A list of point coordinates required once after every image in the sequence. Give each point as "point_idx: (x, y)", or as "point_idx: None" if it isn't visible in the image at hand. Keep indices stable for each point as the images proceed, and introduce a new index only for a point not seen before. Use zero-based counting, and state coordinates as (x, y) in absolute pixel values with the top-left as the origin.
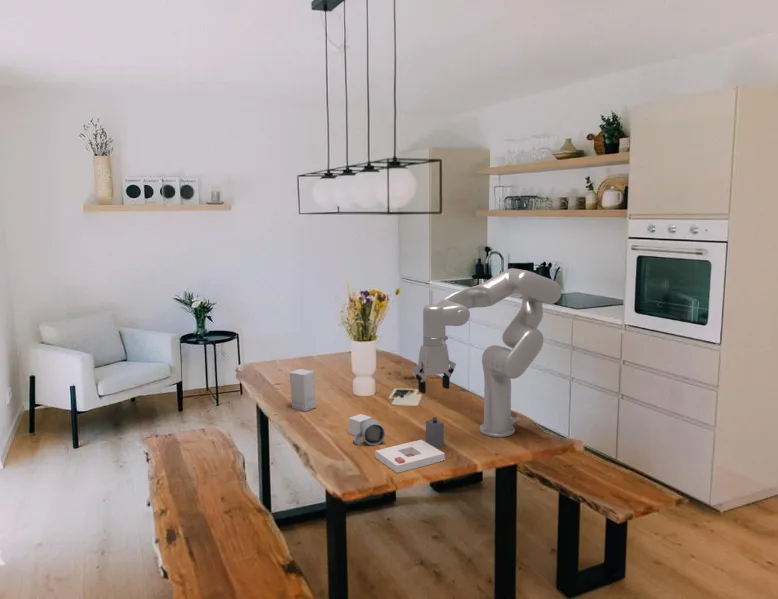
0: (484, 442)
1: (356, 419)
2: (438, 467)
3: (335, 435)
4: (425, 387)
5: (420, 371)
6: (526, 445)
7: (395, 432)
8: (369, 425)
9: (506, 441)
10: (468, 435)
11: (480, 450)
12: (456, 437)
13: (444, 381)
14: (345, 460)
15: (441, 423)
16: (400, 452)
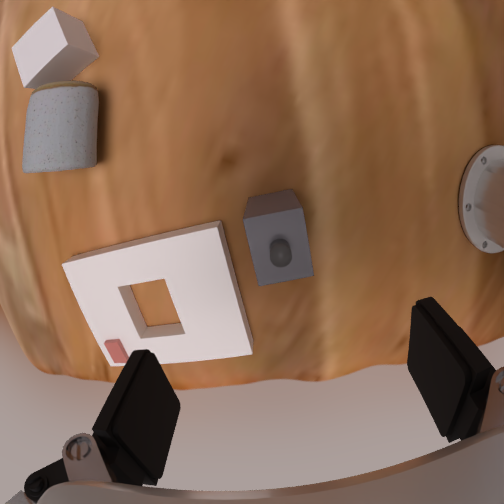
0: (426, 264)
1: (22, 63)
2: (220, 367)
3: (15, 70)
4: (170, 440)
5: (72, 501)
6: (484, 313)
7: (173, 63)
8: (24, 170)
9: (471, 277)
10: (418, 191)
11: (383, 312)
12: (375, 190)
13: (435, 371)
14: (17, 245)
15: (302, 275)
16: (124, 303)
